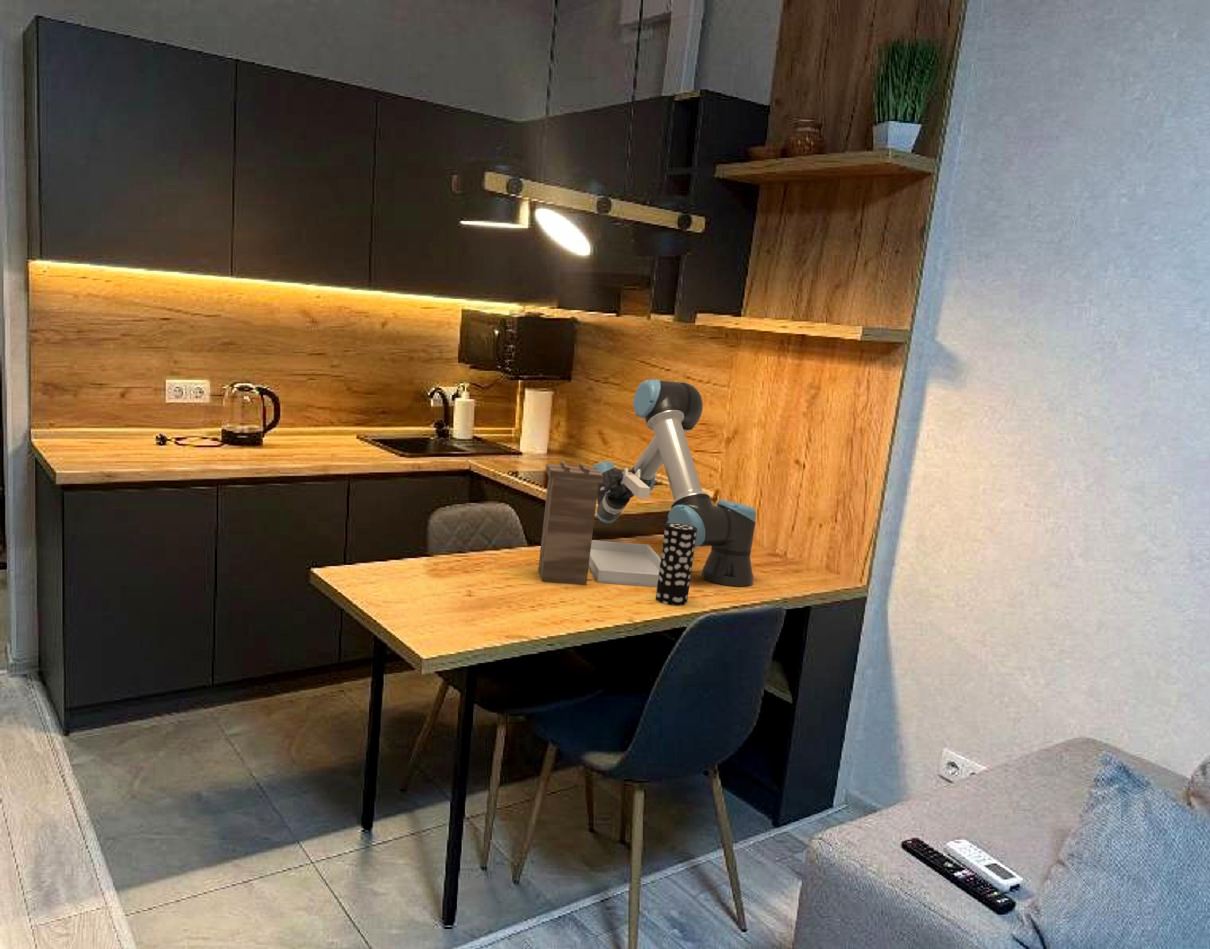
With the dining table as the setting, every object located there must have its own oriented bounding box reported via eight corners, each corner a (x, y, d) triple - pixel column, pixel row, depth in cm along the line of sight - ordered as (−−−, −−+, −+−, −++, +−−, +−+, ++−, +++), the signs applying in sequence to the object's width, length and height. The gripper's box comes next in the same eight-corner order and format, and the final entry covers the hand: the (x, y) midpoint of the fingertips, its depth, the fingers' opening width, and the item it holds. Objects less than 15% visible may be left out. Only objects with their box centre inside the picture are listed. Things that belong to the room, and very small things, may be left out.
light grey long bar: (648, 498, 256) (650, 488, 255) (638, 497, 255) (639, 487, 255) (630, 482, 283) (631, 472, 283) (620, 481, 283) (621, 471, 282)
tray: (675, 588, 256) (676, 576, 255) (597, 582, 252) (598, 570, 251) (647, 555, 293) (648, 544, 292) (579, 549, 289) (580, 538, 288)
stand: (590, 585, 248) (604, 471, 243) (538, 581, 245) (551, 466, 241) (583, 573, 260) (596, 464, 256) (534, 569, 258) (546, 459, 254)
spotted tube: (663, 594, 248) (672, 521, 245) (691, 601, 244) (701, 527, 242) (650, 600, 241) (660, 525, 238) (679, 607, 237) (690, 531, 234)
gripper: (640, 512, 295) (659, 487, 273) (591, 507, 292) (605, 482, 270) (641, 490, 297) (659, 463, 276) (592, 485, 295) (606, 458, 273)
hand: (632, 472), depth 273 cm, fingers closed on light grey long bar, 3 cm apart
